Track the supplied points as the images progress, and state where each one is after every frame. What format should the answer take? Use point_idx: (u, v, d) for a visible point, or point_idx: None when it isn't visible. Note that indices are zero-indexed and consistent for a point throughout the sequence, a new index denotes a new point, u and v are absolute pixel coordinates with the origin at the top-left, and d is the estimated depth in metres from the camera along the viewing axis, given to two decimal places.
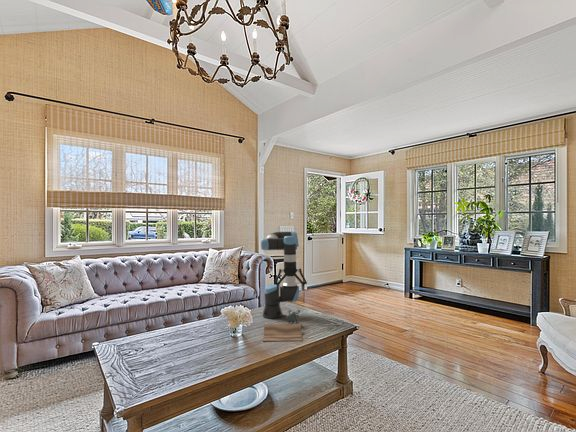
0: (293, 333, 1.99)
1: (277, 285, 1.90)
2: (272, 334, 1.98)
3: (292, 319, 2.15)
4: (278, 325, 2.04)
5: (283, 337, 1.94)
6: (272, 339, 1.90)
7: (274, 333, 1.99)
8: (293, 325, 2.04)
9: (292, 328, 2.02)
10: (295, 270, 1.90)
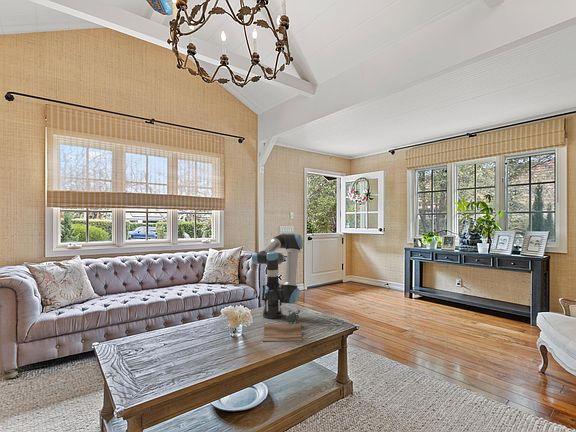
0: (293, 333, 1.99)
1: (265, 301, 2.03)
2: (272, 334, 1.98)
3: (292, 319, 2.15)
4: (278, 325, 2.04)
5: (283, 337, 1.94)
6: (272, 339, 1.90)
7: (274, 333, 1.99)
8: (293, 325, 2.04)
9: (292, 328, 2.02)
10: (277, 284, 2.03)
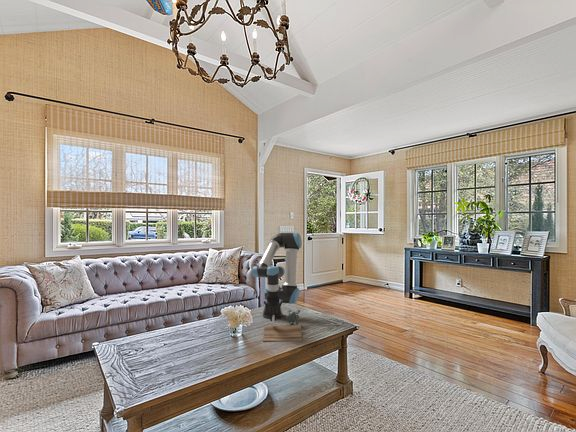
0: (293, 333, 1.99)
1: (271, 316, 2.04)
2: (272, 334, 1.99)
3: (292, 319, 2.15)
4: (278, 326, 2.04)
5: (283, 337, 1.94)
6: (272, 339, 1.90)
7: (274, 333, 1.99)
8: (293, 326, 2.04)
9: (292, 329, 2.02)
10: (278, 299, 2.03)
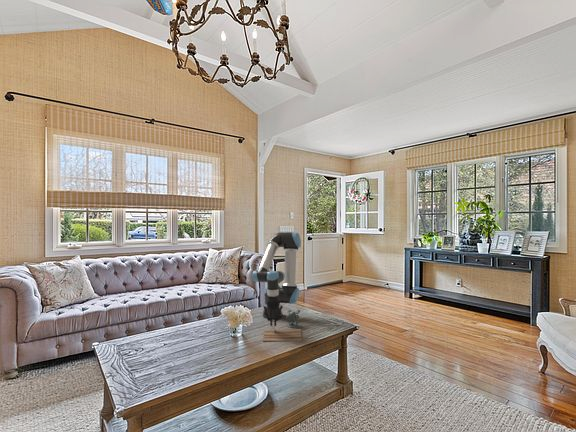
0: (293, 333, 1.99)
1: (271, 321, 2.04)
2: (272, 334, 1.99)
3: (292, 319, 2.15)
4: (278, 330, 2.05)
5: (283, 337, 1.94)
6: (272, 339, 1.90)
7: (274, 334, 2.00)
8: (293, 329, 2.05)
9: (292, 331, 2.03)
10: (278, 304, 2.03)
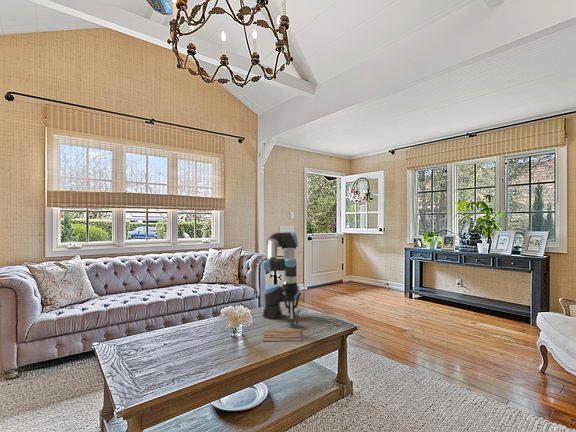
0: (293, 333, 1.99)
1: (289, 308, 2.03)
2: (272, 334, 1.99)
3: (292, 319, 2.15)
4: (278, 330, 2.05)
5: (283, 337, 1.94)
6: (272, 339, 1.90)
7: (274, 334, 2.00)
8: (293, 329, 2.05)
9: (292, 331, 2.03)
10: (296, 291, 2.03)
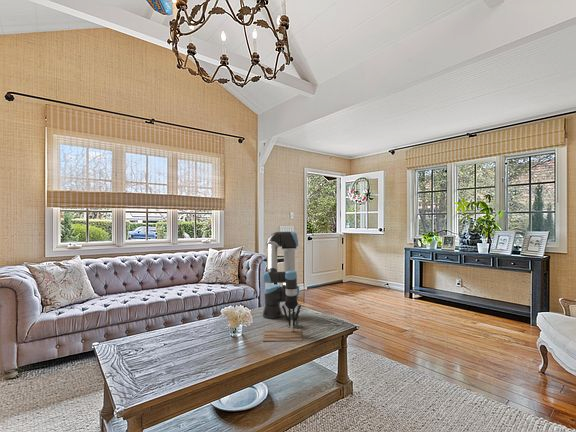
0: (293, 333, 1.99)
1: (290, 321, 2.03)
2: (272, 334, 1.99)
3: (292, 319, 2.15)
4: (278, 330, 2.05)
5: (283, 337, 1.94)
6: (272, 339, 1.90)
7: (274, 334, 2.00)
8: (293, 329, 2.05)
9: (292, 331, 2.03)
10: (296, 303, 2.03)
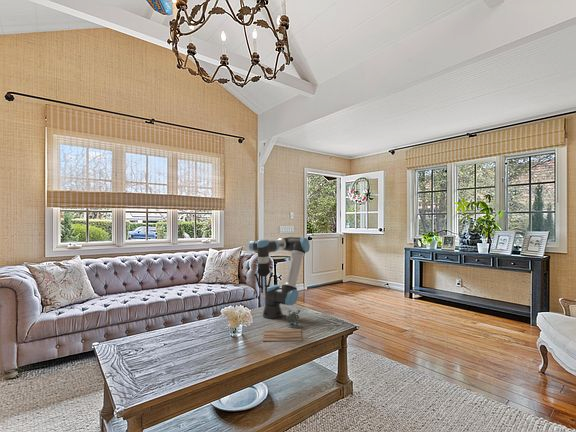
0: (293, 333, 1.99)
1: (262, 288, 2.08)
2: (272, 334, 1.99)
3: (292, 319, 2.15)
4: (278, 330, 2.05)
5: (283, 337, 1.94)
6: (272, 339, 1.90)
7: (274, 334, 2.00)
8: (293, 329, 2.05)
9: (292, 331, 2.03)
10: (268, 271, 2.08)
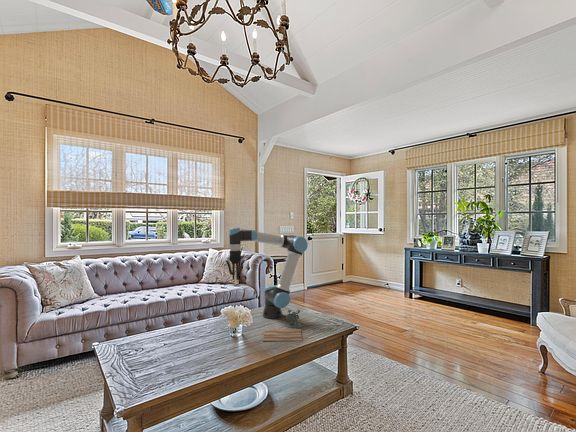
0: (293, 333, 1.99)
1: (233, 275, 2.13)
2: (272, 334, 1.99)
3: (292, 319, 2.15)
4: (278, 330, 2.05)
5: (283, 337, 1.94)
6: (272, 339, 1.90)
7: (274, 334, 2.00)
8: (293, 329, 2.05)
9: (292, 331, 2.03)
10: (239, 258, 2.13)
